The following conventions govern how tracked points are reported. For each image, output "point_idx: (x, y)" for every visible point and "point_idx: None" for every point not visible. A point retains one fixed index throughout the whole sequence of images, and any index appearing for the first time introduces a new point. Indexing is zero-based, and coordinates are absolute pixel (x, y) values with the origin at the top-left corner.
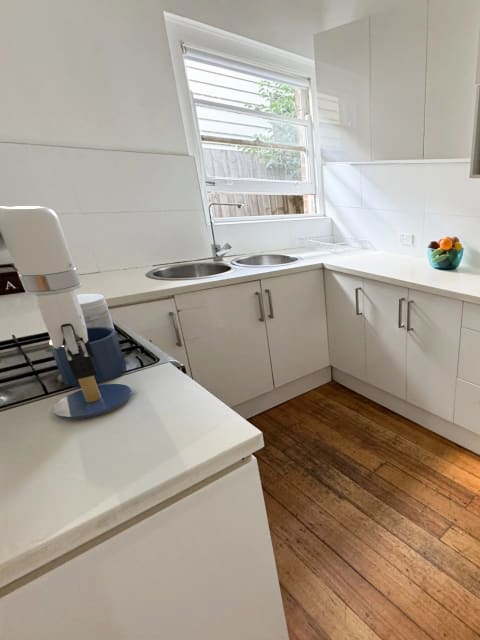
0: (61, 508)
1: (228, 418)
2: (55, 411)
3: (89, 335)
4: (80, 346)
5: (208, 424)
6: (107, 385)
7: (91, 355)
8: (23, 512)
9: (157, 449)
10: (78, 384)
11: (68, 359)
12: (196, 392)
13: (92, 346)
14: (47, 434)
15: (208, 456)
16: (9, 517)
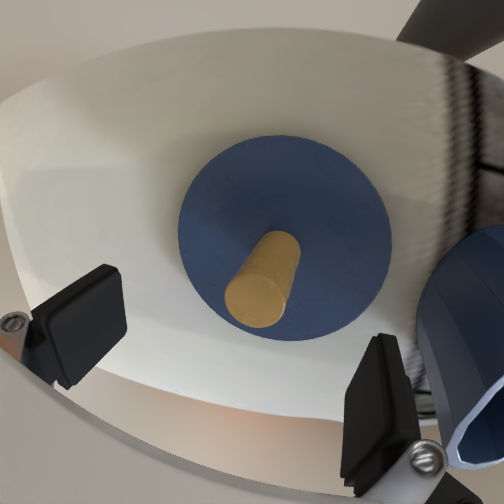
0: (9, 143)
1: None
2: (275, 141)
3: None
4: (358, 432)
5: None
6: (351, 308)
7: (346, 397)
8: (20, 105)
9: (44, 261)
10: (454, 250)
11: (8, 315)
12: (175, 388)
13: (453, 414)
14: (183, 110)
15: (25, 291)
16: (22, 92)
